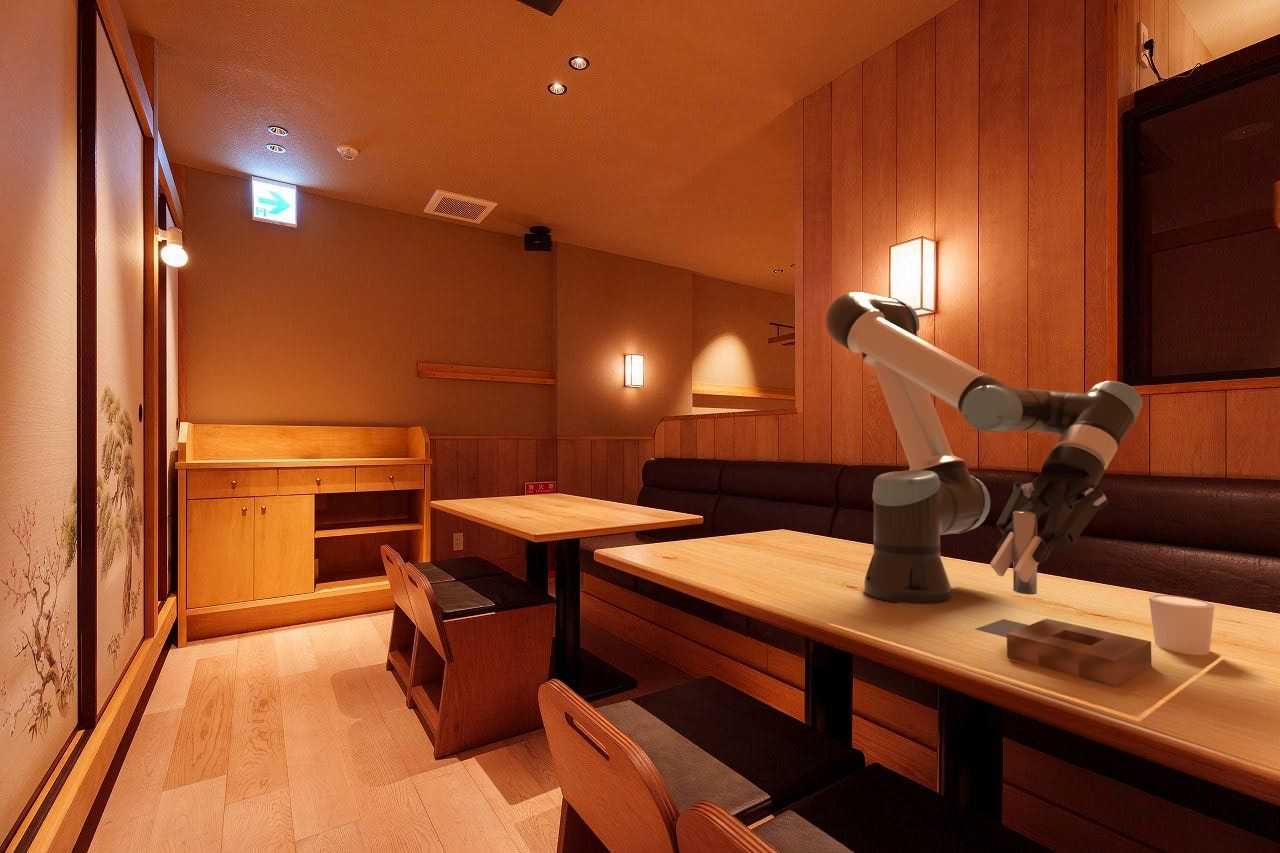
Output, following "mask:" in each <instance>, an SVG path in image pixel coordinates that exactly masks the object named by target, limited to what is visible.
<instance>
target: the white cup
mask: <svg viewBox="0 0 1280 853" xmlns="http://www.w3.org/2000/svg"><path fill="white" fill-rule="evenodd" d="M1148 600H1149V607H1150V615H1151V624H1152V629H1153V638H1154V644H1155V646H1157V647H1159V648H1161V649H1163V650H1166V651H1170V652H1174V653H1179V654H1180V653H1181V654H1185V655H1192V656H1193V655H1194V656H1207V655H1209V654H1210V651H1211V642H1212V641H1211V640H1212V632H1213V631H1212V630H1213V623H1214V622H1213V620H1214V610H1215V605H1214V604H1213V603H1211V602H1208V601H1205V600H1201V599H1198V598H1192V597H1188V596H1179V595H1168V594H1153V595H1149V596H1148Z"/></svg>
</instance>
